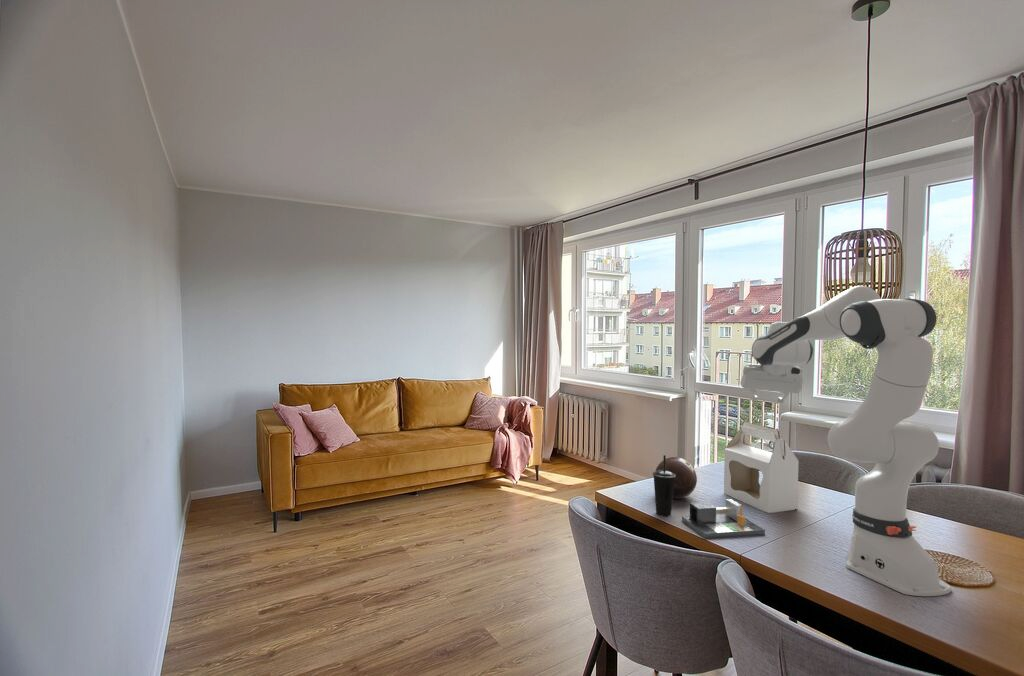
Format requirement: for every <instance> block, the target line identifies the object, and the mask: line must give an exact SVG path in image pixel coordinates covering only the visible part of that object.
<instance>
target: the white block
mask: <svg viewBox="0 0 1024 676" xmlns="http://www.w3.org/2000/svg"><path fill="white" fill-rule="evenodd" d="M740 505H742V504H741V503H740V502H737V501H735V500H734V499H732V498H728V499H727V498H726V499H725V506H721V507H720V506H719V507H717V506H716V515H717V514H726V515H727V516H729V517H731V518H732V519H734V520H735V521H737V518H738V515H740ZM745 523H747V520H745Z"/></svg>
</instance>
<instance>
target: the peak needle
mask: <svg viewBox="0 0 1024 676" xmlns="http://www.w3.org/2000/svg"><path fill="white" fill-rule="evenodd" d="M745 518H746V517H745V516H743V504H741V505H740V515H738V518H737V523H739V524H740V525H745Z"/></svg>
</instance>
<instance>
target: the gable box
mask: <svg viewBox="0 0 1024 676" xmlns="http://www.w3.org/2000/svg"><path fill="white" fill-rule="evenodd" d="M749 436H750V437H753V438H756V439H757V438H758V439H762V440H765V441H769V442H772V443H774V445H773V449H772V451H770V450H766V449H763V448H760V447H756V446H754V445H752V444H751V441H750V437H749ZM723 459H724V461H723V462H724V465H723V466H724V467H723V469H724V470H723V472H724V473H723V494H725V495H726V496H728V497H731V498H733V499H736V500H738V501H740V502H742V503H745V504H747V505H749V506H751V507H753V508H755V509H758V510H760V511H762V512H765V513H767V514H773V513H780V512H781V513H782V512H787V511H795V509H796V510H798V508H799V507H798V504H799V503H798V502H799V501H798V500H799V495H798V494H799V459H798V458H797V456H796V455H795V453H794V452H793V450H792V449H791V448H790V446H789V445H788V444H787V442H786V441H785V439H783V438H781V437H780V431H779V430H778V429H776V428H771V427H767V426H762V425H760V424H755V423H751V422H747V421H745V422H743V424H742V425H740V428H738V429H737V432H736V433H735V435H734V436H733V437H732V439H730V442H729V443H728V444H727V446H726V447H725V448H724V458H723ZM760 472H761V474H762V479H761V481H760ZM759 481H760V482H761V483H760V482H759Z"/></svg>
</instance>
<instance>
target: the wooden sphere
mask: <svg viewBox="0 0 1024 676" xmlns="http://www.w3.org/2000/svg"><path fill="white" fill-rule="evenodd" d="M658 470H663V460H661V461H660V463H659V464H657V466H656V469H655V471H658ZM665 470H668V471H670V472H672V473H674V474H676V477H675V483H674V492H673V499H678V500H679V499H683V498H684V499H685V498H686V497H688V496H690V495H692V493H693V492H694V491H695V489H696V486H697V484H698V483H697V482H698V479H697V478H698V477H697V472H696V469H695V468H694V467H693V466H692V464H691V463H690V462H688V460H686V459H684V458H681V457H679V456H678V457H677V456H673V457H666V463H665Z"/></svg>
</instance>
